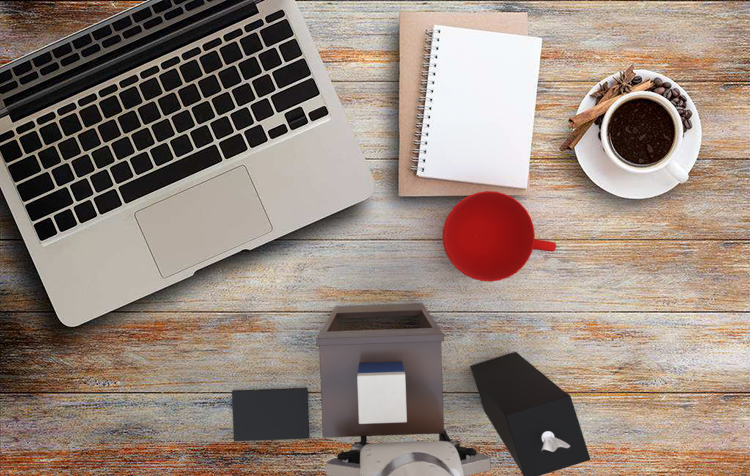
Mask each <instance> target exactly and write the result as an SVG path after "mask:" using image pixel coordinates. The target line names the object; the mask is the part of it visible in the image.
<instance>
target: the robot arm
mask: <svg viewBox="0 0 750 476" xmlns="http://www.w3.org/2000/svg"><path fill="white" fill-rule="evenodd" d="M350 446H351V447H350V448H351V449H349V450H346V451H341V452H340V453H337V454H336V455H337V456H336V457H333V458H332V459H330V460H328V461H326V463H325V466H326V470H325V471H326V476H473V475H476V474H479V473H484V472H488V471H491V470H492V460H491V459H492V458H491V457H490V456H489V455H486V454H484V453H481V452H480V453H478V452H477V449H475V448H474V447H465V446H461V441H460V440H454V439H453V438H450V436H449V435H448V432H447V431H446V430H445V429H444V434H438V440H419V441H418V440H417V441H414V440H413V441H390V442H389V441H387V442H372V443H368V436H360V441H355V442H354V443H352V444H351V445H350Z"/></svg>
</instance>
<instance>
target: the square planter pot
mask: <svg viewBox="0 0 750 476" xmlns="http://www.w3.org/2000/svg"><path fill="white" fill-rule="evenodd" d="M410 316H413V317H414V316H417V324H418V325H417V326H418V327H417V328H396V329H395V328H394V329H393V328H391V329H367V330H365V329H364V330H363V329H362V330H342V319H353V318H354V319H355V318H384V317H386V318H387V317H410ZM442 342H445V334H444V333H443V331H442V330H441V328H440V326H439V325H438V324H437V322H436V321H435V319H434V318H433V317H432V315H431V313H430V312H429V311H428V309H427V308H426V306H425V304H424V303H423V302H418V303H417V302H416V303H415V302H413V303H411V302H410V303H385V304H384V303H383V304H360V305H359V304H358V305H354V304H353V305H335V307H334V308H333V309H332V311H331V313H330V315H329V316H328V317H327V320H326V322H324V325H323V326H322V328H321V330H320V331H319V333H318V334H317V336H316V338H315V346H316V347H317V346H318V347H319V348H318V349H319V373H320V375H319V377H320V402H321V403H320V404H321V429H322V431H321V432H322V438H323V439H325V438H327V439H329V438H353V437H355V438H356V437H361V436H367V437H382V436H385V437H386V436H388V437H389V436H411V435H414V436H415V435H439V434H444V430H445V419H444V418H445V416H444V415H445V413H444V387H443V385H444V384H443V359H442V358H443V357H442ZM401 361H402V362H403V367H404V372H405V383H406V411H407V422H399V423H370V424H359V413H358V385H357V375H358V368H359V363H372V362H401Z"/></svg>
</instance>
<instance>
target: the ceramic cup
mask: <svg viewBox="0 0 750 476" xmlns="http://www.w3.org/2000/svg"><path fill="white" fill-rule="evenodd" d="M535 233H536V232H535V228H534V224H533V220H532V217H531V216H530V214H529V212H528V210H527V209H526V208H525V206H523V204H522V203H520V202H519V201H518V200H517V199H516V198H514V197H512V196H510V195H508V194H506V193H504V192H500V191H491V190H485V191H477V192H476V193H472V194H470V195H468V196H466V197H464V198H462V199H461V200H460V201H459V202H457V203H456V204H455V205H454V207H453V208H452V209H451V211H449V213H448V215H447V216H446V218H445V221H444V223H443V227H442V236H441V237H442V244H443V248H444V252H445V254H446V257H447V258H448V260H449V261H450V263H451V265H453V266H454V268H455V269H456V270H457V271H459V272H461V273H462V274H463V275H464V276H467V277H468V278H470V279H472V280H476V281H480V282H491V283H492V282H497V281H498V282H499V281H503V280H505V279H509V278H510V277H513V275H515V274H517V273H518V272H519V271H520V270H521V269H523V268H524V266H525V265H526V264H527V262H528V261H529V259H530V258H531V255H532V253H533V250H535V251H544V252H551V253H553V252H555V251H556V249H557V243H556V242H554V241H551V240H550V241H549V240H543V239H538V238H537V239H536V238H535V237H536V234H535Z"/></svg>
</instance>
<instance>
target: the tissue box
mask: <svg viewBox="0 0 750 476" xmlns="http://www.w3.org/2000/svg"><path fill="white" fill-rule="evenodd" d="M469 367H470V371H471V373H472V377H473V381H474V383H475V386H476V389H477V393H478V395H479V399H480V402H481V405H482V408H483V411H484V414H485V415H486V417H487V418H488V420H489V421H490V423H491V425H492V426H493V428H494V430H495V432H496V433H497V435H498V437H499V438H500V439H501V441H502V443H503V445H504V446H505V448H506V449H507V451H508V452H509V454H510V456H511V458H512V459H513V461H514V462H515V464H516V466H517V467H518V469H519V471H520V472H521V475H522V476H544V475H547V474H550V473H553V472H557V471H560V470H563V469H566V468H569V467H573V466H576V465H580V464H582V463H585V462H588V461H591V457H590V453H589V450H588V447H587V443H586V440H585V437H584V434H583V430H582V428H581V427H582V426H581V424H580V421H579V419H578V415H577V413H576V409H575V405H574V402H573V399H572V396H571V395H570V394H569V393H568V392H566V391H565V390H563V389H562V388H561V387H559V386H558V385H557V384H556V383H555V382H553V381H552V380H551V379H550V378H549V377H548V376H546V375H545V374H544V373H542V372H541V371H540V370H539V369H538V368H536V367H535V366H534V365H533V364H532V363H531V362H529V361H528V360H527V359H526V358H525V357H523V356H522V355H521V354H519V353H518V351H514V352H510V353H507V354H504V355H501V356H497V357H495V358H491V359H488V360H485V361H482V362H478V363H475V364H472V365H470V366H469Z"/></svg>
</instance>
